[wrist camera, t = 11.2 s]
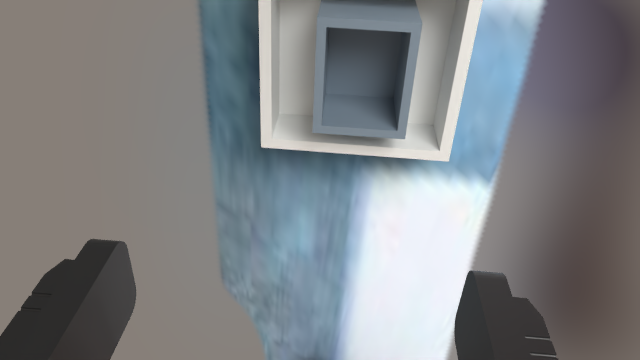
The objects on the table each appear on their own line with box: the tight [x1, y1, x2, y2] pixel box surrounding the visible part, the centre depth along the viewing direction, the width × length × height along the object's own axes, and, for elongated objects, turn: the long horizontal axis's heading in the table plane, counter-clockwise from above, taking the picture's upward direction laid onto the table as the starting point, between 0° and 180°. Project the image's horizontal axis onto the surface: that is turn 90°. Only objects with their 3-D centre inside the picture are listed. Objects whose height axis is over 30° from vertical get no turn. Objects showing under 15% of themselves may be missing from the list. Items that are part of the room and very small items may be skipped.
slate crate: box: [312, 0, 422, 139], centre depth 36 cm, size 8×6×6 cm
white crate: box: [258, 0, 483, 161], centre depth 38 cm, size 13×14×5 cm
